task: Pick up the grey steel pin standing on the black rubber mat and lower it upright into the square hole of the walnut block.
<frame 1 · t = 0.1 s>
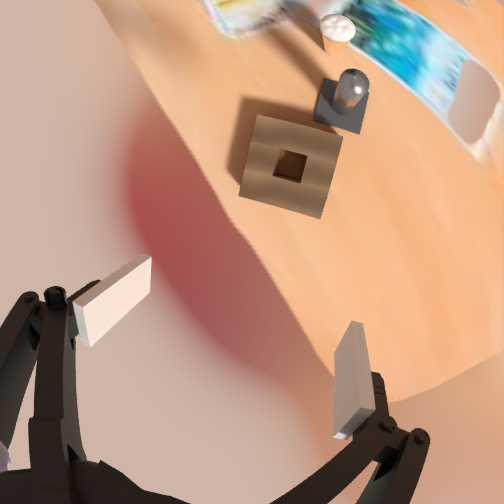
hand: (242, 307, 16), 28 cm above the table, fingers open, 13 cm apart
milkshake: (333, 50, 31), on the table
hole block: (292, 164, 39), on the table
mat: (341, 105, 34), on the table
pin: (341, 105, 34), resting on mat
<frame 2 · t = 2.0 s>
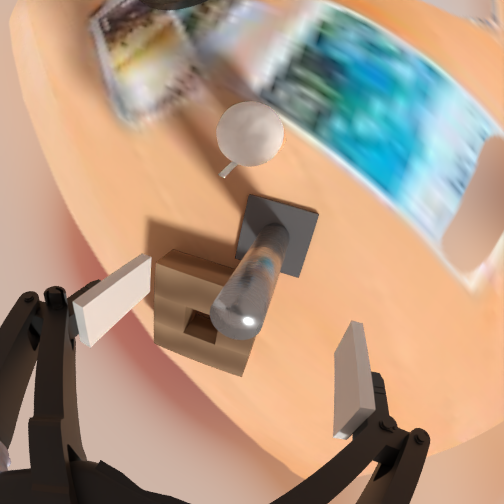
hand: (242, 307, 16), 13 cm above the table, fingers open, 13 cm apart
milkshake: (267, 141, 25), on the table
hole block: (212, 307, 33), on the table
mat: (275, 236, 28), on the table
pin: (274, 237, 27), resting on mat
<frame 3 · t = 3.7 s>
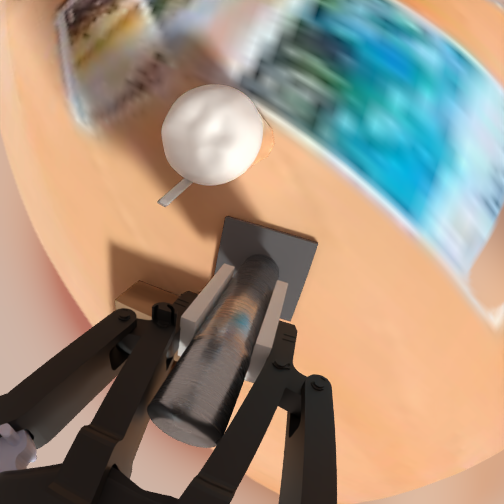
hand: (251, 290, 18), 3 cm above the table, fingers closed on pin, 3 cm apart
milkshake: (250, 145, 18), on the table
hole block: (188, 347, 26), on the table
mat: (260, 270, 21), on the table
pin: (259, 272, 21), resting on mat, touching gripper
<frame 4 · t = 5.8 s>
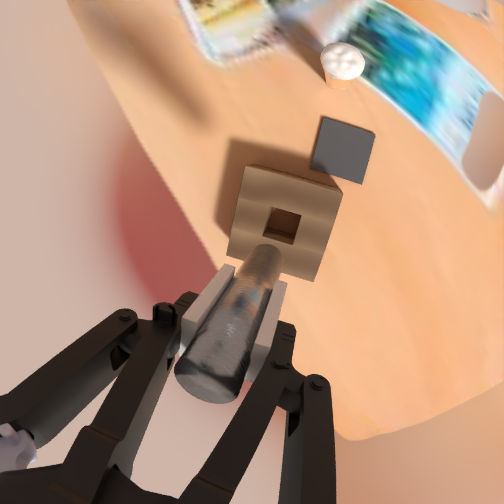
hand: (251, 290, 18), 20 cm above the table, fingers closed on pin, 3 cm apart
milkshake: (336, 82, 29), on the table
hole block: (285, 218, 37), on the table
mat: (343, 150, 32), on the table
pin: (266, 260, 23), point 15 cm above the table, touching gripper
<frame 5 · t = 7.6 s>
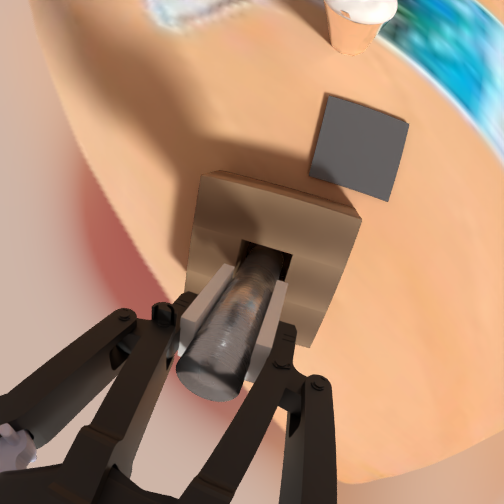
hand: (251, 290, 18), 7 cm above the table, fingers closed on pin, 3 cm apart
milkshake: (346, 44, 17), on the table
hole block: (269, 251, 25), on the table
mat: (360, 148, 20), on the table
pin: (266, 259, 24), point 1 cm above the table, touching gripper
when the fingers open (5 cm above the table, at t = 8.1 s): pin stays where it is, resting in hole block.
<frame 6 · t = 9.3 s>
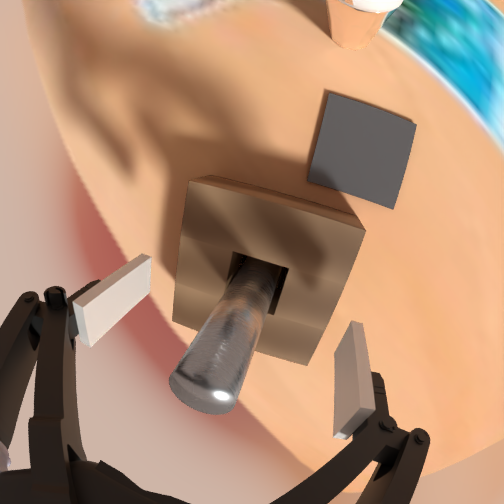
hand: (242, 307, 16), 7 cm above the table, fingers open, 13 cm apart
milkshake: (347, 38, 15), on the table
hole block: (264, 263, 23), on the table
mat: (363, 150, 18), on the table
pin: (263, 265, 23), resting in hole block
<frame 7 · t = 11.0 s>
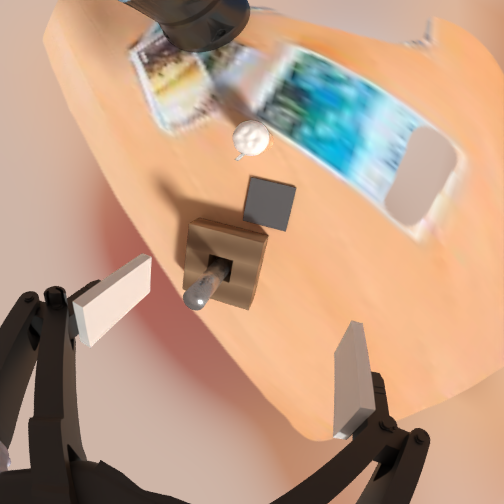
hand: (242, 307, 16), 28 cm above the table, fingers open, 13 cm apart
milkshake: (262, 143, 39), on the table
hole block: (227, 259, 47), on the table
mat: (269, 204, 42), on the table
pin: (226, 260, 47), resting in hole block
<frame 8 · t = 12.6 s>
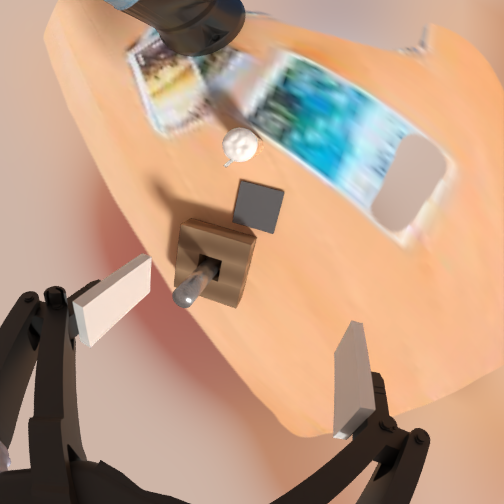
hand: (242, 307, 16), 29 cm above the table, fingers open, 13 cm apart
milkshake: (252, 148, 41), on the table
hole block: (216, 258, 48), on the table
mat: (257, 207, 43), on the table
pin: (216, 259, 49), resting in hole block
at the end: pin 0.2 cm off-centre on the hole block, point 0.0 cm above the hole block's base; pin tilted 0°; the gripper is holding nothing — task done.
